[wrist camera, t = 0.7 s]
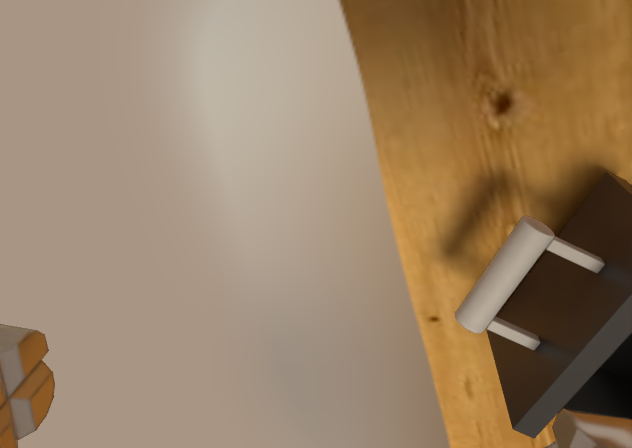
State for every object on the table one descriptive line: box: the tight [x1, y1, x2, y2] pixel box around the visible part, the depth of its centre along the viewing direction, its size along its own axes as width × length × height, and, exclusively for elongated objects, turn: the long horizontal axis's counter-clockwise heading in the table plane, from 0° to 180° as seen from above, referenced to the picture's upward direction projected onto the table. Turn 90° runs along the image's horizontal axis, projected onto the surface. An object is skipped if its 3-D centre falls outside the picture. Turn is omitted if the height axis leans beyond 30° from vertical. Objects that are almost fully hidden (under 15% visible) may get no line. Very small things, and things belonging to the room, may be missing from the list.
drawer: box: [455, 172, 632, 438], centre depth 27 cm, size 16×11×8 cm
